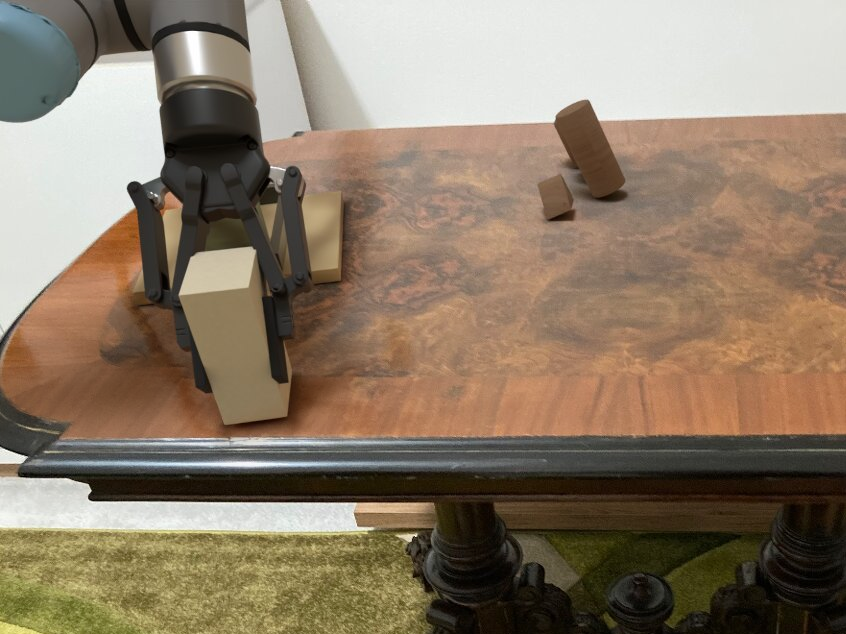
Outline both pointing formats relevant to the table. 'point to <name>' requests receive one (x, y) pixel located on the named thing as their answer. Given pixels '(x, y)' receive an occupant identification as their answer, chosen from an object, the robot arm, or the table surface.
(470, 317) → the table surface
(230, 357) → the cream back pad
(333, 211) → the block holder stand
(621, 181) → the wooden block set
